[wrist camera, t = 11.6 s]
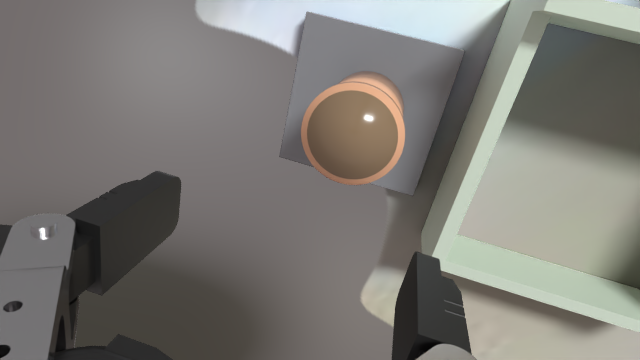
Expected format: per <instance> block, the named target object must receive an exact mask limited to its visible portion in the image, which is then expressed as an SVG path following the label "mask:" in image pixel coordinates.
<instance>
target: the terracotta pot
mask: <svg viewBox="0 0 640 360" xmlns="http://www.w3.org/2000/svg"><path fill="white" fill-rule="evenodd" d="M403 117H404V102H403V98H402V95H401V93H400V91H399V89H398V87H397V86H396V85H395V84H394V83H393V82H392V81H391V80H390V79H389V78H387V77H386V76H384V75H382V74H380V73H377V72H372V71H361V72H356V73H353V74H351V75H349V76H347V77H345V78H344V79H343V80H341V81H340V82H339V83H338V84H336V85H333V86H331V87H330V88H328V89H326V90H325V91H323V92H322V93H321V94H319V95H318V96H317V97H316V98H315V99H314V100H313V101H312V102H311V104H310V105H309V107H308V108H307V110H306V112H305V115H304V117H303V121H302V126H301V139H302V145H303V148H304V151H305V154H306V155H307V157H308V159H309V161H310V162H311V164H312V165H313V166H314V167H315V168H316V169H317V170H318V171H319V172H320V173H322V174H323V175H324V176H326V177H327V178H329V179H331V180H333V181H336V182H338V183H343V184H348V185H361V184H366V183H371V182H373V181H376V180H378V179H380V178H381V177H383V176H384V175H386V174H387V173H388V172H389V171H390V170H391V169H392V168H393V167H394V166H395V165H396V163H397V162H398V160H399V158H400V156H401V154H402V151H403V147H404V142H405V124H404V120H403Z"/></svg>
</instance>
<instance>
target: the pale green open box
mask: <svg viewBox="0 0 640 360" xmlns="http://www.w3.org/2000/svg"><path fill="white" fill-rule="evenodd" d="M548 23H550V24H554V25H558V26H563V27H567V28H571V29H576V30H580V31H584V32H589V33H593V34H597V35H601V36H606V37H610V38H614V39H619V40H623V41H627V42H632V43H636V44H640V8H636V7H632V6H627V5H623V4H618V3H614V2H609V1H605V0H511V2H510V4H509V7H508V9H507V12H506V15H505V17H504V20H503V22H502V25H501V27H500V30H499V33H498V35H497V38H496V40H495V43H494V46H493V48H492V51H491V53H490V56H489V59H488V61H487V64H486V66H485V69H484V72H483V74H482V77H481V79H480V82H479V85H478V87H477V90H476V92H475V95H474V97H473V100H472V103H471V105H470V108H469V110H468V113H467V116H466V118H465V121H464V123H463V126H462V129H461V131H460V134H459V136H458V139H457V142H456V144H455V147H454V149H453V152H452V155H451V157H450V160H449V162H448V165H447V167H446V170H445V173H444V175H443V178H442V180H441V183H440V186H439V188H438V191H437V193H436V196H435V199H434V201H433V204H432V206H431V209H430V212H429V214H428V217H427V219H426V222H425V225H424V227H423V230H422V232H421V251H422V254H426V255H429V256H432V257H435V258H438V259H439V260H440V267H441V271H444V272H447V273H451V274H454V275H457V276H460V277H463V278H467V279H470V280H473V281H476V282H479V283H483V284H486V285H489V286H492V287H495V288H499V289H502V290H505V291H508V292H511V293H515V294H518V295H521V296H524V297H527V298H530V299H534V300H537V301H540V302H543V303H546V304H550V305H553V306H556V307H559V308H562V309H566V310H569V311H572V312H575V313H578V314H582V315H585V316H588V317H591V318H594V319H598V320H601V321H604V322H607V323H610V324H614V325H617V326H620V327H623V328H626V329H630V330H633V331H636V332H639V333H640V289H637V288H634V287H630V286H627V285H624V284H620V283H617V282H614V281H610V280H607V279H604V278H600V277H597V276H594V275H590V274H587V273H584V272H581V271H577V270H574V269H571V268H567V267H564V266H561V265H557V264H554V263H551V262H547V261H544V260H541V259H537V258H534V257H531V256H527V255H524V254H521V253H517V252H514V251H511V250H507V249H504V248H501V247H497V246H494V245H491V244H487V243H484V242H481V241H477V240H474V239H471V238H468V237H464V236H461V235H458V234H457V233H458V230H459V228H460V226H461V223H462V221H463V219H464V216H465V214H466V212H467V209H468V207H469V205H470V202H471V200H472V198H473V196H474V193H475V191H476V189H477V186H478V184H479V182H480V179H481V177H482V175H483V172H484V170H485V168H486V165H487V163H488V161H489V158H490V156H491V154H492V151H493V149H494V147H495V145H496V142H497V140H498V138H499V135H500V133H501V131H502V128H503V126H504V124H505V121H506V119H507V117H508V114H509V112H510V110H511V107H512V105H513V103H514V101H515V98H516V96H517V94H518V91H519V89H520V87H521V84H522V82H523V80H524V77H525V75H526V73H527V70H528V68H529V66H530V63H531V61H532V59H533V56H534V54H535V52H536V50H537V47H538V45H539V43H540V40H541V38H542V36H543V33H544V31H545V29H546V26H547V24H548Z"/></svg>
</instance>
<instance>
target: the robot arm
mask: <svg viewBox="0 0 640 360" xmlns="http://www.w3.org/2000/svg"><path fill="white" fill-rule="evenodd" d="M180 193H181V180H180V179H179V177H176V176H173V175H169V174H166V173H163V172H160V171H155V172H153V173H151V174H150V175H148V176H146V177H145V178H143V179H141V180H135V181H131V182H128V183H124V184H121V185H119V186H117V187H115V188H113V189H112V190H110V191H109V193H108V192H106V193H105V194H103V195H101V196H100V197H99V198H96V199H94V200H92V201H90V202H89V203H87V204H85V205H83V206H82V207H80V208H78V209H76V210H75V211H73V212H71V213H69V214H67V215H66V216H65V215H62V214H54V213H45V214H37V215H32V216H29V217H26V218H24V219H21V220H20V221H18V222H17V223H15V224H14V225H13V226H9V225H0V360H172V359H171V358H170V357H168V356H167V355H165V354H164V353H163V352H161V351H160V350H159V349H157V348H155V347H152V346H150V345H147V344H144V343H141V342H138V341H136V340H133V339H130V338H127V337H125V336H122V335H120V334H118V335H117V336H116V337H115V338H114V339H113V341H111V342H110V344H109V345H108V346H86V347H77V348H74V346H75V338H76V329H77V320H78V311H79V295H80V294H81V293H82V292H84V291H85V290H87V291H90V292H93V293H96V294H99V295H103V294H104V293H105V292H106V291H107V290H109V289H110V288H111V287H112V286H113V285H114V284H115V283H117V282H118V281H119V280H120V279H121V278H122V277H123V276H124V275H126V274H127V273H128V272H129V271H130V270H131V269H132V268H134V267H135V266H136V265H137V264H138V263H139V262H140V261H141V260H143V259H144V258H145V257H146V256H147V255H148V254H149V253H150V252H152V251H153V250H154V249H155V248H156V247H157V246H158V245H159V244H161V243H162V242H163V241H164V240H165V239H166V238H167V237H168V236H170V235H171V234H172V232H173V231H174V229H175V227H176V225H177V222H178V218H179V206H180ZM392 360H477V359H476V358H475V357H474V356H472V354H471V348H470V342H469V336H468V330H467V324H466V318H465V313H464V308H463V301H462V295H461V292H460V290H459V289H458V287H457V286H456V284H455V283H454V281H453V280H452V279H449V278H446V277H442V276H441V267H440V260H439V259H438V258H435V257H432V256H429V255H426V254H422V253H419V252H415V253H414V255H413V257H412V259H411V262H410V265H409V267H408V270H407V272H406V275H405V277H404V280H403V283H402V285H401V288H400V290H399V293H398V297H397V301H396V306H395V317H394V332H393V347H392Z"/></svg>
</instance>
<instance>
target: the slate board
mask: <svg viewBox="0 0 640 360" xmlns="http://www.w3.org/2000/svg"><path fill="white" fill-rule="evenodd" d="M464 53H465V50H463V49H459V48H455V47H451V46H447V45H443V44H439V43H435V42H431V41H427V40H423V39H418V38H414V37H410V36H406V35H402V34H398V33H394V32H390V31H386V30H382V29H378V28H374V27H370V26H366V25H362V24H358V23H353V22H349V21H345V20H341V19H337V18H333V17H329V16H325V15H321V14H317V13H313V12H306V18H305V23H304V28H303V34H302V39H301V44H300V50H299V55H298V60H297V66H296V71H295V77H294V82H293V87H292V93H291V98H290V103H289V108H288V114H287V119H286V124H285V130H284V135H283V140H282V146H281V151H280V156H279V157H282V158H285V159H289V160H292V161H295V162H299V163H302V164H305V165H309V166H312V167H314V166H313V165H312V164H311V162H310V161H309V159H308V157H307V155H306V154H305V151H304V148H303V145H302V139H301V126H302V121H303V117H304V115H305V112H306V110H307V108H308V107H309V105H310V104H311V102H312V101H313V100H314V99H315V98H316V97H317V96H318V95H319V94H321V93H322V92H323V91H325V90H326V89H328V88H330V87H331V86H333V85H336V84H338V83H339V82H340V81H341V80H343V79H344V78H345V77H347V76H349V75H351V74H353V73H356V72H361V71H372V72H377V73H380V74H382V75H384V76H386V77H387V78H389V79H390V80H391V81H392V82H393V83H394V84H395V85H396V86H397V87H398V89H399V91H400V93H401V95H402V98H403V102H404V117H403V120H404V124H405V142H404V147H403V151H402V154H401V156H400V158H399V160H398V162H397V163H396V165H395V166H394V167H393V168H392V169H391V170H390V171H389V172H388V173H387V174H386V175H384V176H383V177H381V178H380V179H378V180H376V181H373V182H371V183H370V184H374V185H377V186H380V187H384V188H387V189H391V190H394V191H397V192H401V193H404V194H408V195H411V196H413V195H414V192H415V189H416V187H417V184H418V181H419V178H420V176H421V173H422V170H423V167H424V164H425V162H426V159H427V156H428V153H429V150H430V148H431V145H432V142H433V139H434V136H435V134H436V131H437V128H438V125H439V123H440V120H441V117H442V114H443V111H444V109H445V106H446V103H447V100H448V97H449V95H450V92H451V89H452V86H453V83H454V81H455V78H456V75H457V72H458V70H459V67H460V64H461V61H462V58H463V56H464Z"/></svg>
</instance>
